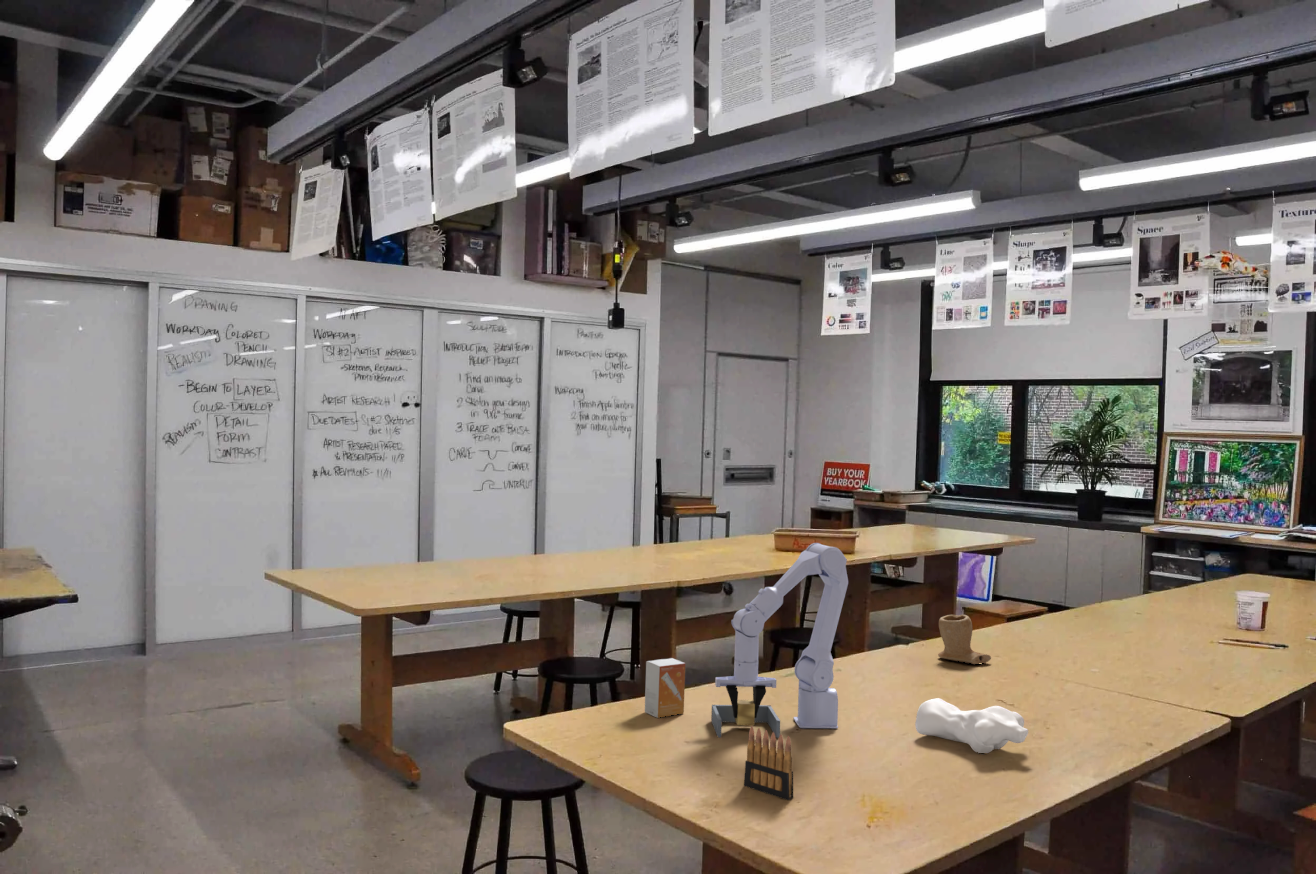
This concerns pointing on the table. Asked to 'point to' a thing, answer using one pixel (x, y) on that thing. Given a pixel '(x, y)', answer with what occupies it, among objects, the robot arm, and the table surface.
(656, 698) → the small box
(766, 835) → the table surface
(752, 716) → the block
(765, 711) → the u-shaped frame
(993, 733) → the torso sculpture
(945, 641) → the tan textured boot shape
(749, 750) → the ammunition clip
